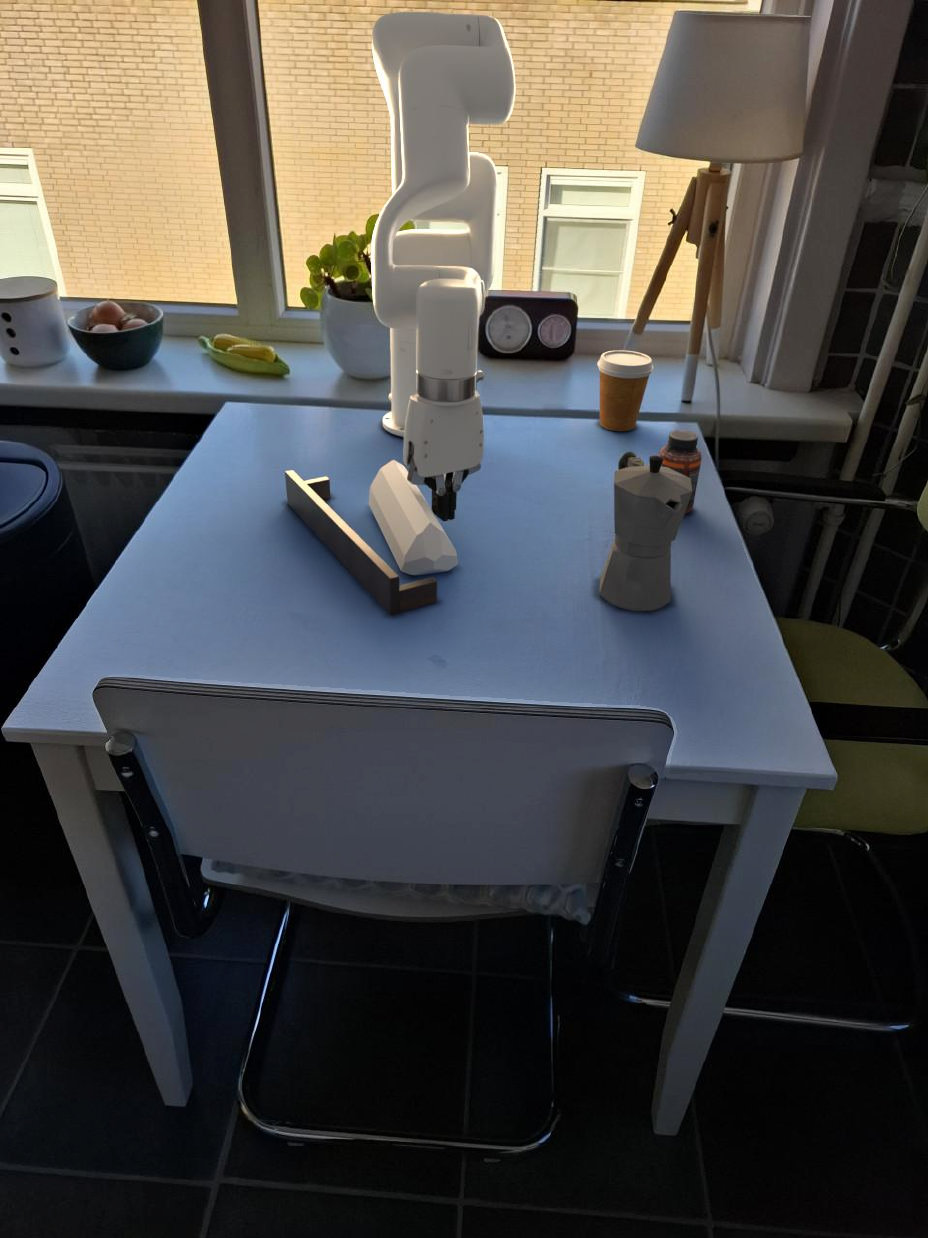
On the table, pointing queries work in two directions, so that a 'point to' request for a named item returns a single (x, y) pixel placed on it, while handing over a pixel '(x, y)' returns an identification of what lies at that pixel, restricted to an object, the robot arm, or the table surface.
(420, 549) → the crystal
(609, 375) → the disposable coffee cup
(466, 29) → the robot arm
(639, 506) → the coffeepot
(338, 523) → the frame
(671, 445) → the supplement bottle
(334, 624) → the table surface
